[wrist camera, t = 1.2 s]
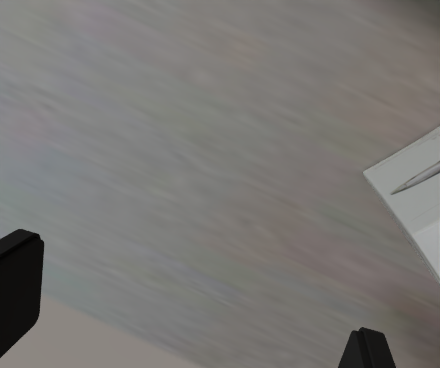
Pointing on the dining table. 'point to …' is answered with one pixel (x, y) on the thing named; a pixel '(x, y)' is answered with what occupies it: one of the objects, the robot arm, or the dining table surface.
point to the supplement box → (413, 195)
